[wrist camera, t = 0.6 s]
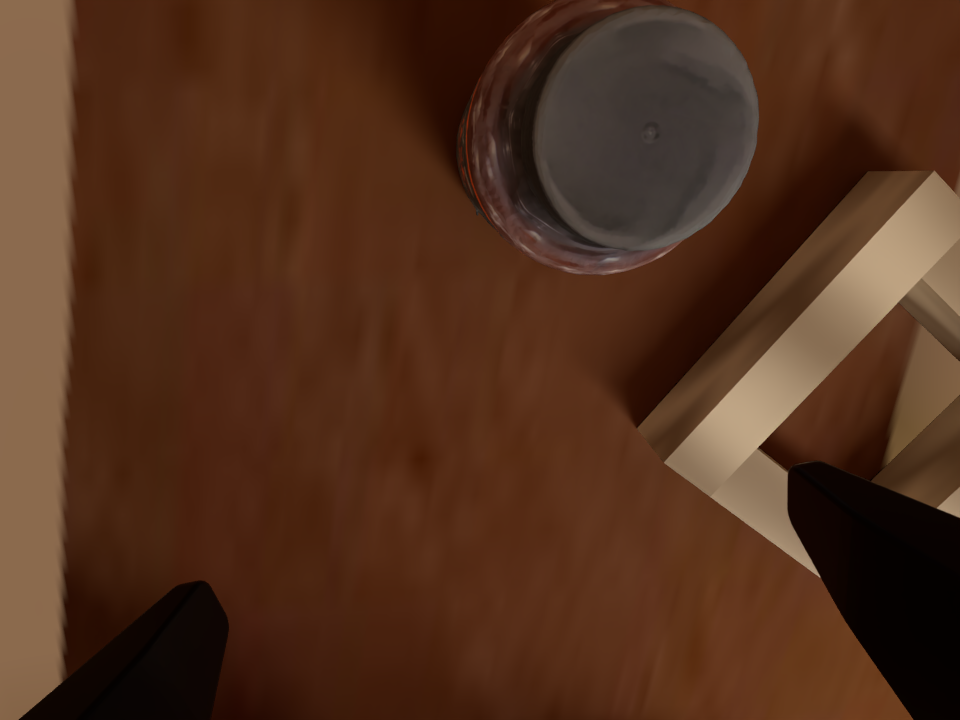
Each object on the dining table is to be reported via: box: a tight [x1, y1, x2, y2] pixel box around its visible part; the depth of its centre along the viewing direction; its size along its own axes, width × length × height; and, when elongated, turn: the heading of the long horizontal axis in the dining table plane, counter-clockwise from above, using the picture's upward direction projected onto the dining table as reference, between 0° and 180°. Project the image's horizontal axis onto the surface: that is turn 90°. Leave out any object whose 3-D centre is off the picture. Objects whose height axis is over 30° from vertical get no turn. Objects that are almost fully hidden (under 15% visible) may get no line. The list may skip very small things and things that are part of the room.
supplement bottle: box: [456, 0, 759, 275], centre depth 15 cm, size 6×6×11 cm
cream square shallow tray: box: [637, 171, 960, 578], centre depth 23 cm, size 13×13×3 cm
